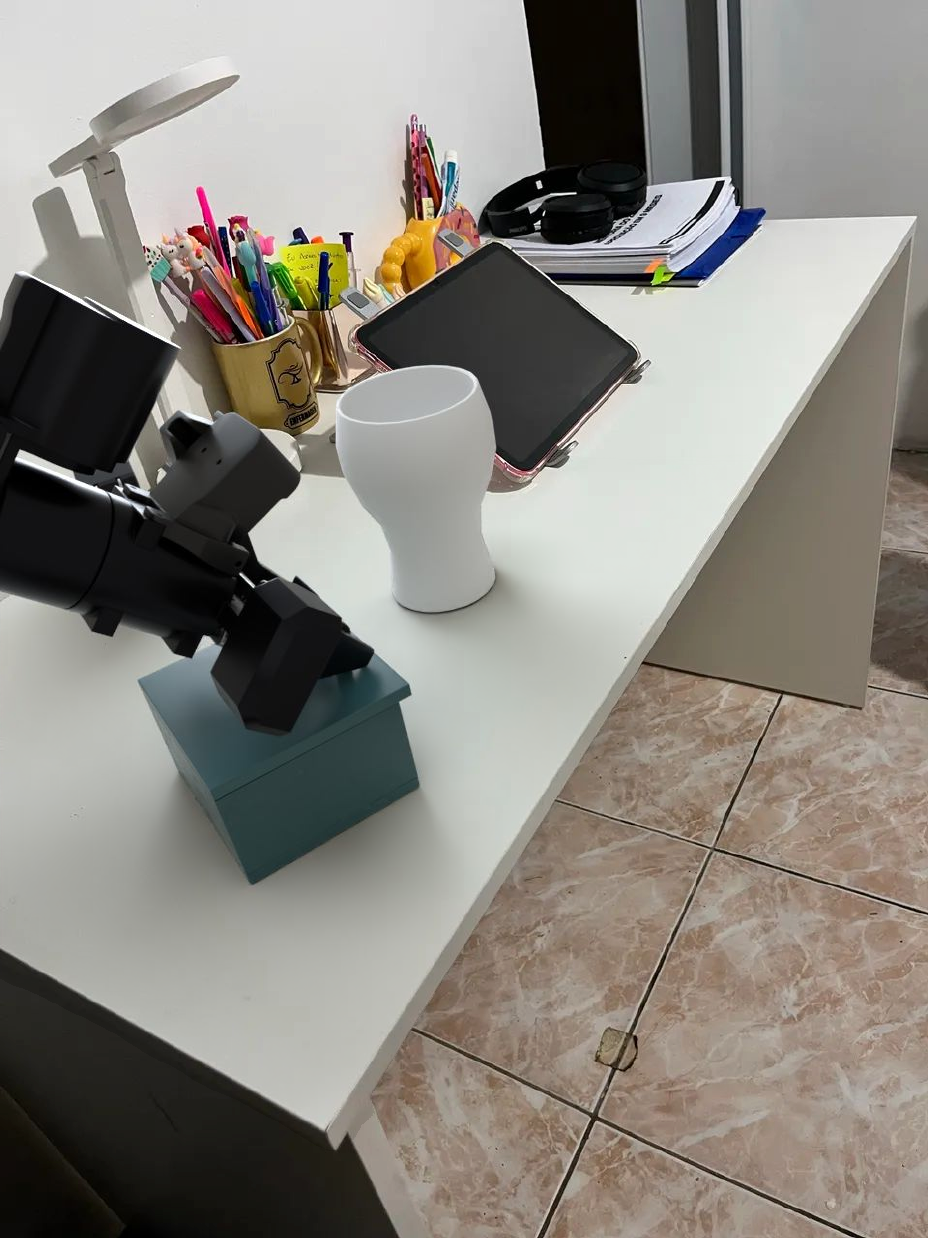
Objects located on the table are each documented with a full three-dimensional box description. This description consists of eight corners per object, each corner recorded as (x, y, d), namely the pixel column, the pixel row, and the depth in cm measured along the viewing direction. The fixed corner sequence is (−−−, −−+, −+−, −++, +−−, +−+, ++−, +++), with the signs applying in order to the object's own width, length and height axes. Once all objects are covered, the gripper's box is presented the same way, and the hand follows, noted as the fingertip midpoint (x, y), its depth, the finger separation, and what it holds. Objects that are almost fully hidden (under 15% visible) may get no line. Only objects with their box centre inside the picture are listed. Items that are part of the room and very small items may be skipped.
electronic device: (157, 537, 84) (116, 433, 78) (179, 587, 76) (136, 475, 70) (110, 553, 83) (65, 449, 77) (127, 605, 75) (79, 493, 69)
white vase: (489, 631, 65) (455, 428, 56) (350, 619, 69) (298, 428, 60) (531, 548, 73) (507, 359, 64) (404, 542, 76) (365, 363, 68)
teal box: (328, 691, 62) (305, 612, 59) (420, 786, 54) (399, 702, 50) (177, 769, 58) (141, 690, 54) (251, 886, 50) (214, 802, 46)
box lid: (316, 607, 59) (300, 552, 57) (412, 695, 50) (398, 635, 48) (141, 690, 54) (116, 634, 52) (214, 801, 46) (188, 740, 44)
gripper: (237, 447, 35) (512, 573, 46) (100, 346, 49) (337, 461, 59) (111, 705, 37) (405, 769, 47) (13, 537, 50) (258, 616, 61)
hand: (347, 636), depth 54 cm, fingers open, 5 cm apart
